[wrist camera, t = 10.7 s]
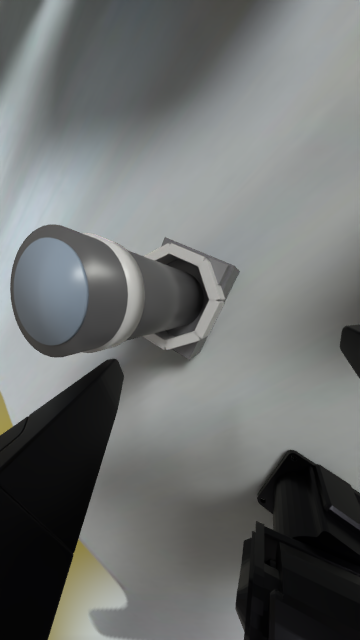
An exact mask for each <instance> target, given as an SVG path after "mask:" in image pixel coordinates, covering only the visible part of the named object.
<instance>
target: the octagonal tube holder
mask: <svg viewBox="0 0 360 640" xmlns="http://www.w3.org/2000/svg"><path fill="white" fill-rule="evenodd" d="M144 257H146V258H149V259H152V260H154V261H157V262H160V263H162V264H165V265H168V266H170V267H173V268H176V269H178V270H181V271H184V272H186V273H189V274H191V275H192V276H194V277H195V278H196V279H197V280H198V282H199V283H200V285H201V287H202V290H203V295H204V302H203V307H202V310H201V312H200V314H199V315H198V317H197V318H196V319H195V320H194V321H193V322H191V323H190V324H187V325H184V326H181V327H177V328H173V329H169V330H165V331H161V332H157V333H154V334H150V335H146V336H142V337H144V338H146V339H147V340H149V341H150V342H152V343H154V344H155V345H157V346H158V347H160V348H161V349H163V350H164V349H166V350H168V349H173V350H174V351H176V352H177V353H179V354H181V355H182V356H184V357H185V358H187V359H189V360H190V359H191V358H192V357H194V356H195V355H197V354H198V353H199V352H200V350H201V348H202V346H203V344H204V342H205V340H206V338H207V336H208V335H209V334H210V332H211V330H212V328H213V326H214V324H215V322H216V320H217V318H218V316H219V314H220V312H221V310H222V308H223V306H224V304H225V300H226V298H227V296H228V294H229V292H230V290H231V288H232V286H233V284H234V282H235V280H236V278H237V276H238V274H239V272H240V271H239V270H238V269H237V268H236V267H235V266H233V265H231V264H229V263H226V262H224V261H221V260H219V259H216V258H214V257H212V256H209V255H207V254H204V253H202V252H200V251H197V250H195V249H192V248H190V247H187V246H185V245H183V244H180V243H178V242H175V241H173V240H170V239H168V238H166V237H165V238H164V241H163V243H162V246H161V247H160V248H158V249H156V250H154V251H152V252H150V253H148V254H147V255H145V256H144Z"/></svg>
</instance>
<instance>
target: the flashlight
mask: <svg viewBox="0 0 360 640" xmlns="http://www.w3.org/2000/svg"><path fill="white" fill-rule="evenodd" d="M10 291H11V302H12V308H13V312H14V315H15V319H16V321H17V324H18V326H19V328H20V330H21V332H22V334H23V335H24V337H25V338H26V340H27V341H28V342H29V343H30V345H32V346H33V347H34V348H35V349H36V350H37V351H39V352H40V353H42V354H44V355H47V356H50V357H65V356H68V355H72V354H76V353H80V352H84V353H93V352H97V351H101V350H105V349H108V348H112V347H115V346H117V345H120V344H121V343H123V342H124V341H126V340H130V339H134V338H138V337H142V336H146V335H150V334H154V333H157V332H161V331H165V330H169V329H173V328H177V327H181V326H184V325H187V324H190V323H191V322H193V321H194V320H195V319H196V318H197V317H198V315H199V314H200V312H201V310H202V307H203V302H204V295H203V290H202V287H201V285H200V283H199V282H198V280H197V279H196V278H195V277H194V276H192V275H191V274H189V273H186V272H184V271H181V270H178V269H176V268H173V267H170V266H168V265H165V264H162V263H160V262H157V261H154V260H152V259H149V258H146V257H144V256H141V255H138V254H136V253H133V252H130V251H128V250H126V249H125V248H124V247H123V246H121V245H119V244H118V243H116V242H113V241H111V240H108V239H106V238H103V237H101V236H98V235H95V234H91V233H80V232H77V231H74V230H72V229H69V228H66V227H63V226H60V225H46V226H42V227H40V228H38V229H36V230H35V231H33V232H32V233H31V234H30V235H29V236H28V237H27V238H26V239H25V241H24V242H23V243H22V245H21V247H20V248H19V250H18V253H17V255H16V258H15V260H14V264H13V268H12V274H11V287H10Z"/></svg>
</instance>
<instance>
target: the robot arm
mask: <svg viewBox="0 0 360 640" xmlns="http://www.w3.org/2000/svg"><path fill="white" fill-rule="evenodd" d="M340 349H341V351H342V353H343V354H344V356H345V357H346V359H347V360H348V362H349V363H350V365H351V366H352V368H353V369H354V371H355V372H356V374H357V375H358V377H359V378H360V325H350V326H345V327H344V328H343V329H342V334H341V341H340ZM123 379H124V375H123V372H122V369H121V367H120V365H119V362H118V360H117V359H110V360H106V361H105V362H103V363H102V364H100V365H99V366H98V367H96V368H95V369H93V370H92V371H91V372H89V373H88V374H86V375H85V376H84V377H82V378H81V379H79V380H78V381H77V382H75V383H74V384H72V385H71V386H70V387H68V388H67V389H65V390H64V391H63V392H61V393H60V394H58V395H57V396H56V397H54V398H53V399H51V400H50V401H48V402H47V403H46V404H44V405H43V406H41V407H40V408H39V409H37V410H36V411H34V412H33V413H32V414H30V415H29V417H26V418H25V419H23V420H22V421H20V422H19V423H18V424H16V425H15V426H13V427H12V428H10V429H9V430H7V431H6V432H5V433H3V434H2V435H0V640H48V637H49V634H50V630H51V627H52V624H53V621H54V617H55V614H56V611H57V608H58V604H59V601H60V597H61V594H62V591H63V588H64V585H65V581H66V578H67V575H68V572H69V568H70V565H71V562H72V558H73V553H74V551H75V548H76V545H77V541H78V538H79V535H80V532H81V528H82V525H83V522H84V519H85V515H86V512H87V509H88V505H89V502H90V499H91V496H92V492H93V489H94V486H95V483H96V479H97V476H98V473H99V469H100V466H101V463H102V460H103V456H104V453H105V450H106V446H107V443H108V440H109V437H110V433H111V430H112V427H113V424H114V420H115V417H116V413H117V410H118V405H119V400H120V395H121V390H122V384H123ZM291 456H296V458H292V457H291ZM261 498H264V499H265V500H263V499H261ZM257 499H258V502H259V503H260V504H261V505H262V506H263V507H264V508H266V509H267V510H268V511H270V512H271V513H272V514H273V530H272V529H269V528H267V527H265V526H264V524H262V523H260V522H257V521H256V532H254V531H252V538H250V539H247V540H244V546H243V555H242V564H241V571H240V577H239V583H238V589H237V597H236V611H237V614H238V616H239V619H240V621H241V624H242V626H243V629H244V632H245V634H244V640H360V493H359V492H357V491H356V490H354V489H353V488H352V487H351V485H350V484H348V483H347V482H345V481H344V480H342V479H341V478H339V477H338V476H336V475H335V474H333V473H332V472H330V471H329V470H327V469H325V468H324V467H322V466H321V465H318V464H315V463H313V462H312V461H310V460H309V459H307V458H306V457H304V456H303V455H301V454H300V453H298V452H297V451H294V450H290V451H288V452H287V454H286V455H285V457H284V458H283V459H282V461H281V462H280V464H279V465H278V466H277V468H276V469H275V471H274V472H273V473H272V475H271V476H270V478H269V479H268V480H267V482H266V483H265V485H264V486H263V487H262V489H261V490H260V492H259V493H258V497H257Z"/></svg>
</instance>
